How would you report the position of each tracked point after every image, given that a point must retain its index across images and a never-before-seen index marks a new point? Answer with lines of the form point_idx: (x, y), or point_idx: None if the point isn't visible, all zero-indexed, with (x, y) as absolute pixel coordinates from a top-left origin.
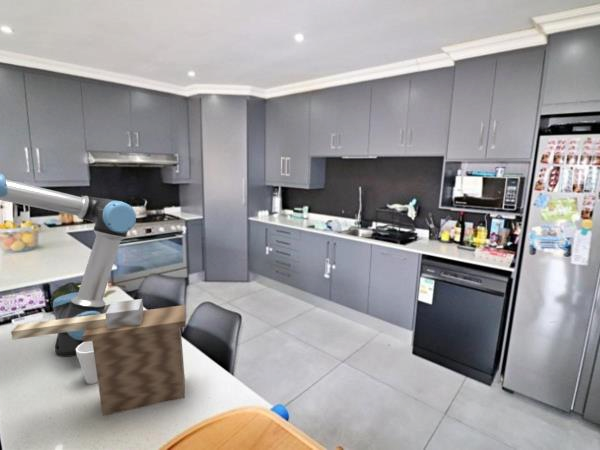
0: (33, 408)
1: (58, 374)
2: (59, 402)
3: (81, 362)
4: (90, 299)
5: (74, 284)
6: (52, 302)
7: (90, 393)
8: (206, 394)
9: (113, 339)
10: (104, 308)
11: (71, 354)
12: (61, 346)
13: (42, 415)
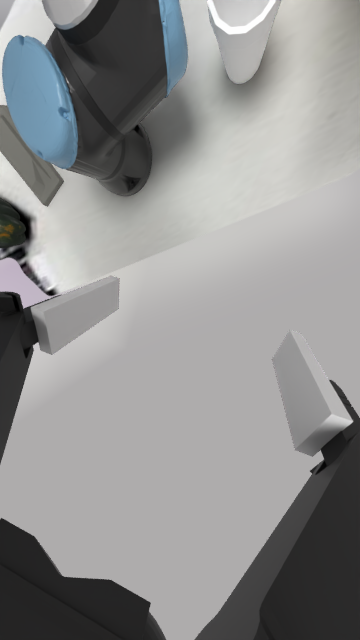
0: (283, 164)
1: (200, 159)
2: (291, 117)
3: (265, 33)
4: None
5: None
6: (11, 241)
7: (297, 46)
8: None
9: None
10: (9, 139)
11: (150, 154)
12: (138, 170)
13: (314, 136)
